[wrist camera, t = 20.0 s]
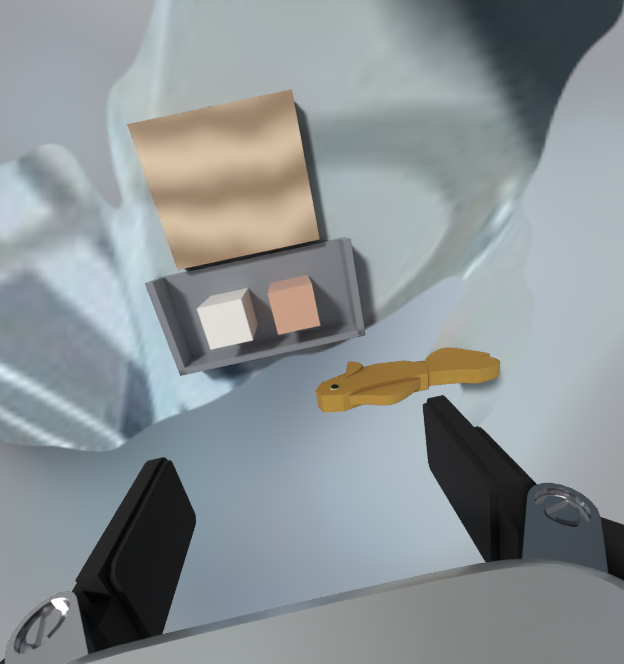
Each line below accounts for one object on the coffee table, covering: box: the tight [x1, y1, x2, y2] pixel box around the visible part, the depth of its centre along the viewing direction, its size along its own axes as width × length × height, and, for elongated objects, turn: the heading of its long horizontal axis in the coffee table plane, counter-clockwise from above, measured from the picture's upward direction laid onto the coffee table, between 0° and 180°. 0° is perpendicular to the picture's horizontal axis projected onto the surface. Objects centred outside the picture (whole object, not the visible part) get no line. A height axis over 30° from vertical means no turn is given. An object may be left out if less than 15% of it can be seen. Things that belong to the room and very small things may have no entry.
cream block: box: [197, 288, 258, 350], centre depth 34 cm, size 4×4×6 cm
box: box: [145, 238, 365, 376], centre depth 36 cm, size 11×22×4 cm, turn 102°
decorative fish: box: [316, 348, 500, 412], centre depth 39 cm, size 22×3×10 cm, turn 99°
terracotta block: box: [268, 275, 320, 335], centre depth 34 cm, size 4×4×6 cm
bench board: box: [127, 90, 320, 270], centre depth 33 cm, size 14×16×2 cm
